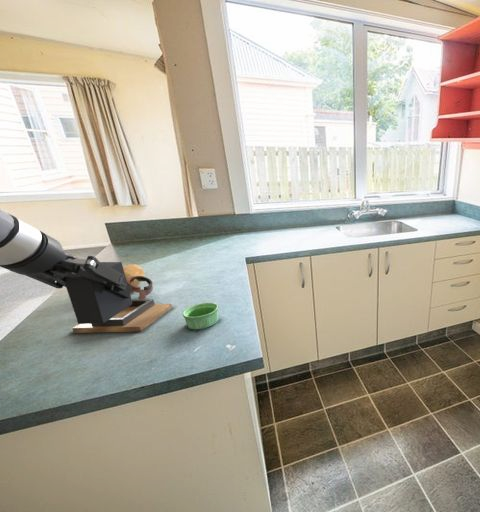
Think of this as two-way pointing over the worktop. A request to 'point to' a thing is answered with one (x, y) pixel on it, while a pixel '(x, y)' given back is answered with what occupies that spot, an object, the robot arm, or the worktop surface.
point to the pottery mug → (144, 292)
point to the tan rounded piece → (133, 272)
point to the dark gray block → (95, 298)
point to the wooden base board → (128, 318)
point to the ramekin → (201, 315)
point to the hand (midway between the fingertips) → (115, 293)
